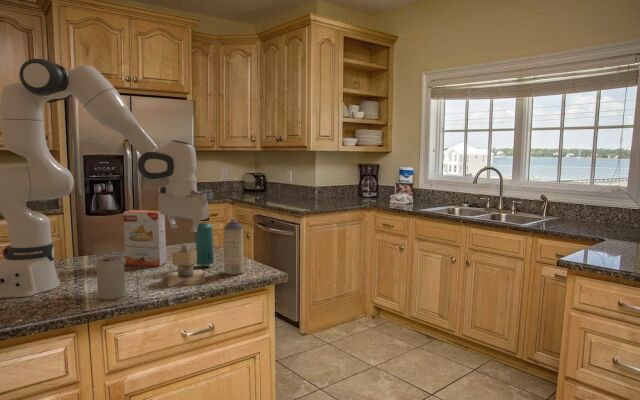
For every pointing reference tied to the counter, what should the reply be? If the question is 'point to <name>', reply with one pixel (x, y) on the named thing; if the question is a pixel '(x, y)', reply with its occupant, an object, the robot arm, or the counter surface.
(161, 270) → the counter surface
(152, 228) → the cracker box
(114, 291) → the can
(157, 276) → the counter surface
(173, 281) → the shaft stand
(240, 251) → the aerosol can
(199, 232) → the beverage bottle
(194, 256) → the collar
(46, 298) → the counter surface
